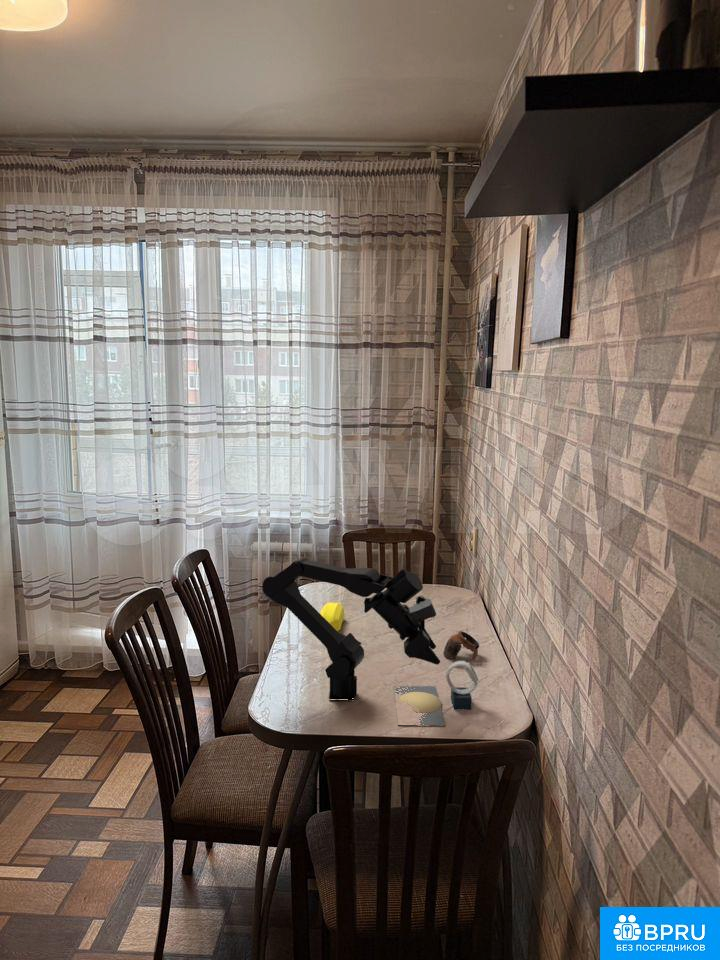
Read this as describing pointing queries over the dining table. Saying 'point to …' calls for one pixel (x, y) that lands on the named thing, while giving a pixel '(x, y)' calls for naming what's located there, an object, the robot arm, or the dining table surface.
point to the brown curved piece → (455, 645)
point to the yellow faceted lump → (333, 614)
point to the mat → (424, 703)
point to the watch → (462, 694)
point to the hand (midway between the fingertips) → (436, 655)
